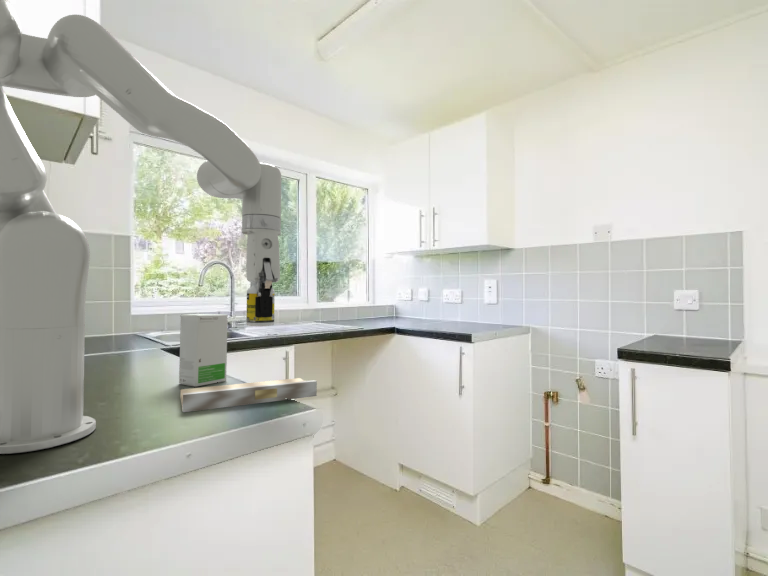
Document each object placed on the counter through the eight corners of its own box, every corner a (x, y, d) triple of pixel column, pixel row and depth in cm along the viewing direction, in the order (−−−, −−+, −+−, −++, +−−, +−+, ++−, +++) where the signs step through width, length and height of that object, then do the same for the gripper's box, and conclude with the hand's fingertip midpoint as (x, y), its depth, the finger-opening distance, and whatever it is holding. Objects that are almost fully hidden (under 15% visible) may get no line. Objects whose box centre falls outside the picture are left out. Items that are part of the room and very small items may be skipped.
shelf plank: (182, 412, 68) (183, 395, 68) (180, 397, 78) (180, 381, 78) (317, 396, 79) (317, 381, 79) (300, 384, 89) (300, 371, 89)
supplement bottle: (240, 325, 80) (241, 276, 80) (264, 323, 84) (264, 277, 84) (256, 327, 76) (256, 276, 77) (279, 325, 81) (280, 277, 81)
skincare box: (195, 387, 85) (196, 315, 85) (176, 384, 89) (178, 314, 89) (228, 380, 93) (229, 313, 93) (209, 377, 96) (210, 312, 96)
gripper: (291, 222, 75) (290, 318, 75) (270, 233, 90) (269, 313, 90) (250, 218, 71) (249, 319, 71) (235, 230, 86) (234, 314, 86)
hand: (260, 315), depth 80 cm, fingers closed on supplement bottle, 5 cm apart
